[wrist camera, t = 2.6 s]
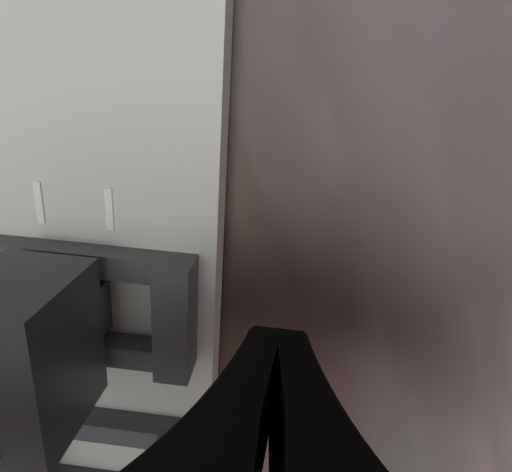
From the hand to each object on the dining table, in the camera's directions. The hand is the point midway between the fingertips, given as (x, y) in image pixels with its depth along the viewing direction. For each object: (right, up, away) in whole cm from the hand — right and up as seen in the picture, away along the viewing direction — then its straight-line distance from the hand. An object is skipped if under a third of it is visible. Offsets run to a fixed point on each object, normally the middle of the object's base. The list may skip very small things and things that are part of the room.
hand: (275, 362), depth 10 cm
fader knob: (-6, +1, +2) cm, 6 cm away
